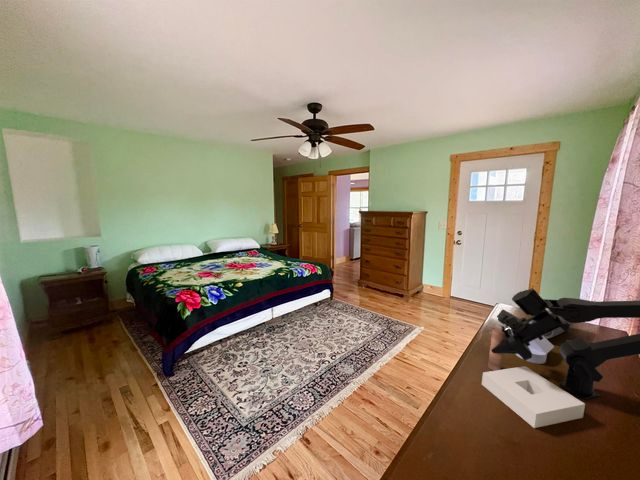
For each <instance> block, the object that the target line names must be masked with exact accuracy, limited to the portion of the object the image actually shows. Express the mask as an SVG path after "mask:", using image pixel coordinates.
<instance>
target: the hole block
mask: <svg viewBox="0 0 640 480" xmlns="http://www.w3.org/2000/svg"><path fill="white" fill-rule="evenodd" d="M481 386H483V387H484V388H486V389H487V391H489V392H490V393H491V394H493V395H494V396H495V397H496V398H497V399H499V400H500V401H501V402H503V404H505V406H507V407H508V408H510V409H511V410H512V411H513V412H514V413H516V414H517V415H518V416H519V417H521V419H523V420H524V421H525V422H526V423H527V424H529V425H530V426H531V427H532V428H533V429H536V428H540V427H547V426H549V425H550V426H551V425H555V424H561V423H564V422H568V421H574V420H579V419H583V418H584V413H585V406H586V403H584V402H583V401H582V400H580V399H578V398H576V397H575V396H573V395H572V394H570V393H569V392H567V391H565V390H564V389H562V388H560V387H559V386H557V385H556V384H554V383H553V382H551V381H550V380H548V379H546V378H544V376H541V375H540V374H538V373H537V372H536V371H533V370H532V369H530V368H529V367H527V366H525V365H524V366H518V367H509V368H503V369H501V370H496V371H494V370H492V371H491V370H490V371H485V372H482V378H481Z"/></svg>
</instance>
